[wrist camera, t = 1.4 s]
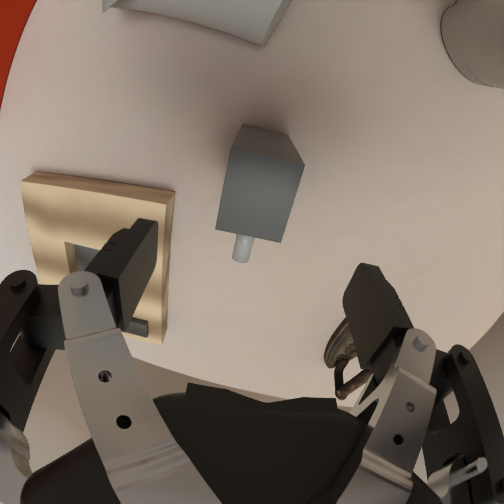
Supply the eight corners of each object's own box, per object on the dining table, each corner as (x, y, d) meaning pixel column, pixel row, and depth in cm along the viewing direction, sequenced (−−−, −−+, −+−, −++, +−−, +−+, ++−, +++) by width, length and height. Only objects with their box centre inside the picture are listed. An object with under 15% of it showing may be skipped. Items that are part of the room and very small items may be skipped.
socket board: (36, 171, 24) (16, 183, 21) (175, 191, 26) (163, 208, 23) (59, 298, 35) (47, 315, 32) (166, 329, 37) (160, 350, 34)
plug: (242, 124, 22) (231, 148, 14) (287, 135, 23) (304, 165, 14) (225, 206, 27) (208, 268, 18) (266, 214, 27) (268, 280, 19)
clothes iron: (388, 318, 36) (401, 382, 29) (341, 348, 43) (347, 404, 37) (352, 310, 34) (364, 383, 27) (307, 343, 41) (310, 404, 35)
